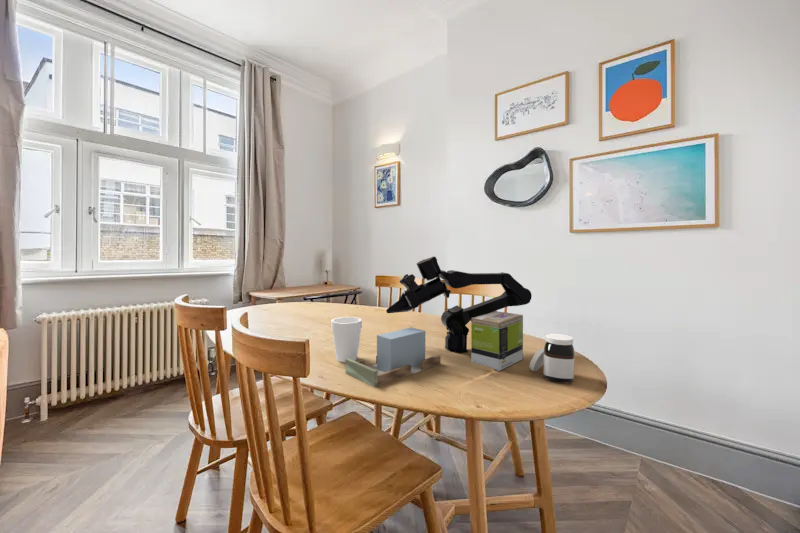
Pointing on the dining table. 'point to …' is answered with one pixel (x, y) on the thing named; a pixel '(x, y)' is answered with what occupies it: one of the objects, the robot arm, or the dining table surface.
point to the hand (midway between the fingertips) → (386, 311)
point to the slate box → (400, 349)
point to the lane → (379, 377)
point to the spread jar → (556, 358)
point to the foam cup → (346, 337)
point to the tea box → (497, 339)
